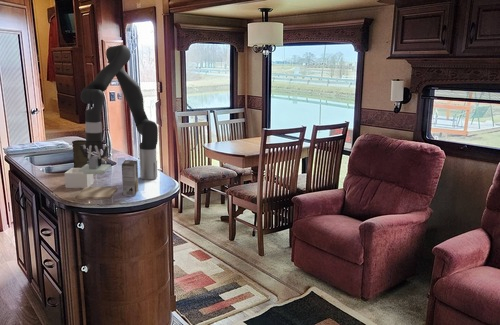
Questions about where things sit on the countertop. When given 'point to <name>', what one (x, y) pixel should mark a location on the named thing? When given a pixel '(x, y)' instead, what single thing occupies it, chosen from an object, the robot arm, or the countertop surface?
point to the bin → (77, 179)
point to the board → (96, 193)
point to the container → (79, 154)
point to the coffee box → (130, 178)
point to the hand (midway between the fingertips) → (95, 165)
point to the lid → (94, 167)
